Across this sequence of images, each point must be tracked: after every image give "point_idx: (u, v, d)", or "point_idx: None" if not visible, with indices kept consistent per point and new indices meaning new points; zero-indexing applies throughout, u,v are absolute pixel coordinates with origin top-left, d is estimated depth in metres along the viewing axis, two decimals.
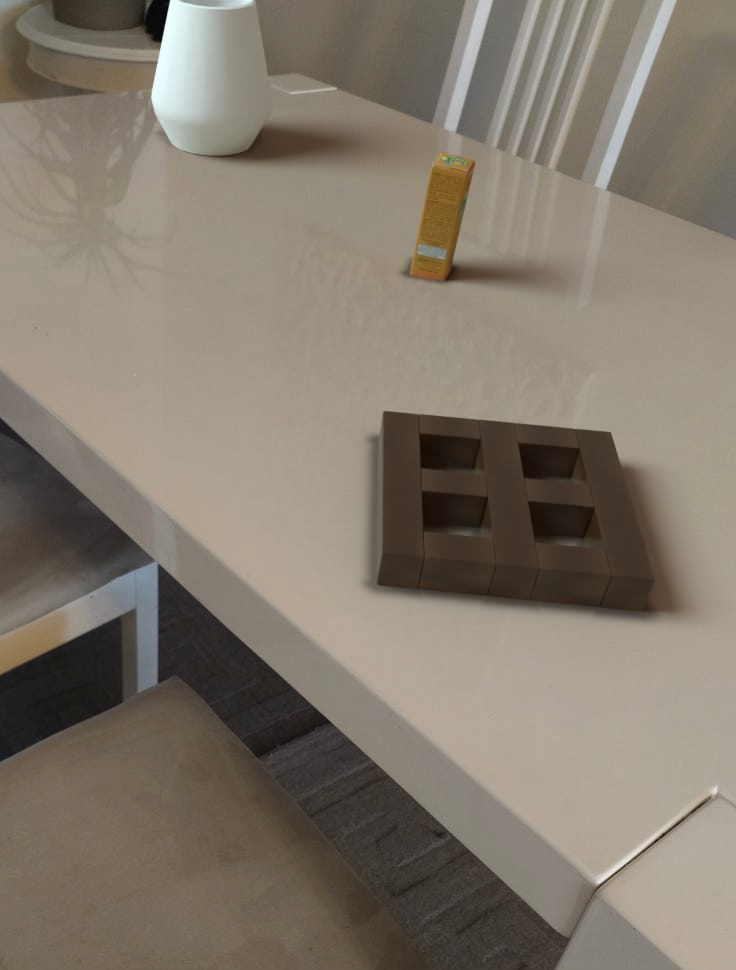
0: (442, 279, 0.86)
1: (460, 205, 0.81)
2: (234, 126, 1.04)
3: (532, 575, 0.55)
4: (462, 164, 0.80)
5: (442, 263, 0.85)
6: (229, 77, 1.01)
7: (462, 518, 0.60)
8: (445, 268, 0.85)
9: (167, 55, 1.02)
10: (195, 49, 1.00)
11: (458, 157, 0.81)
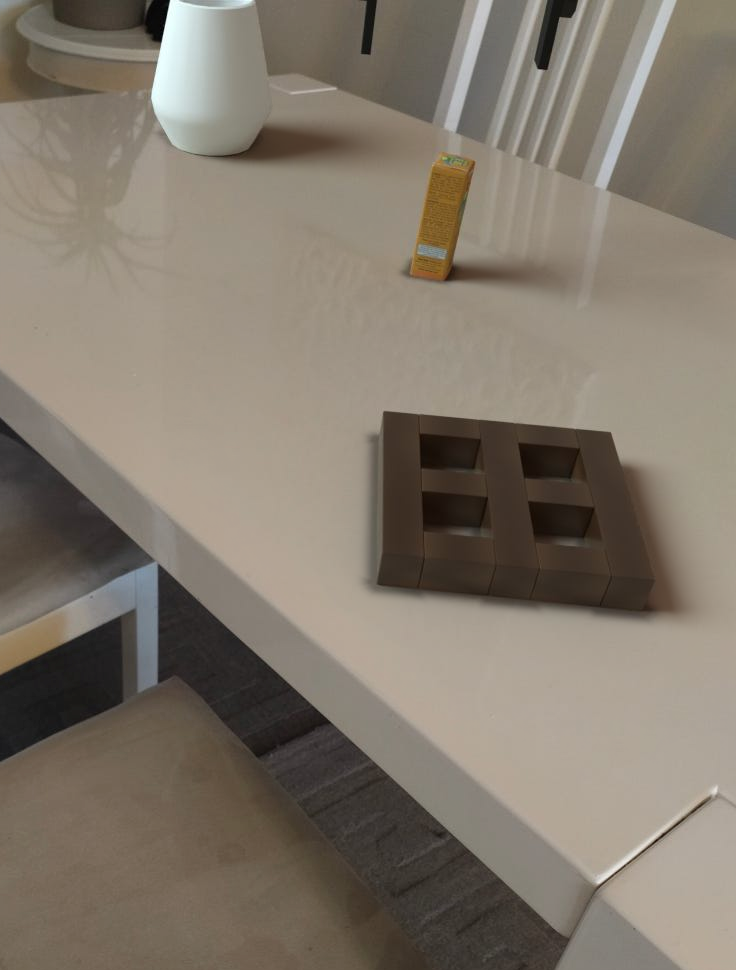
0: (442, 279, 0.86)
1: (460, 205, 0.81)
2: (234, 126, 1.04)
3: (532, 575, 0.55)
4: (462, 164, 0.80)
5: (442, 263, 0.85)
6: (229, 77, 1.01)
7: (462, 518, 0.60)
8: (445, 268, 0.85)
9: (167, 55, 1.02)
10: (195, 49, 1.00)
11: (458, 157, 0.81)
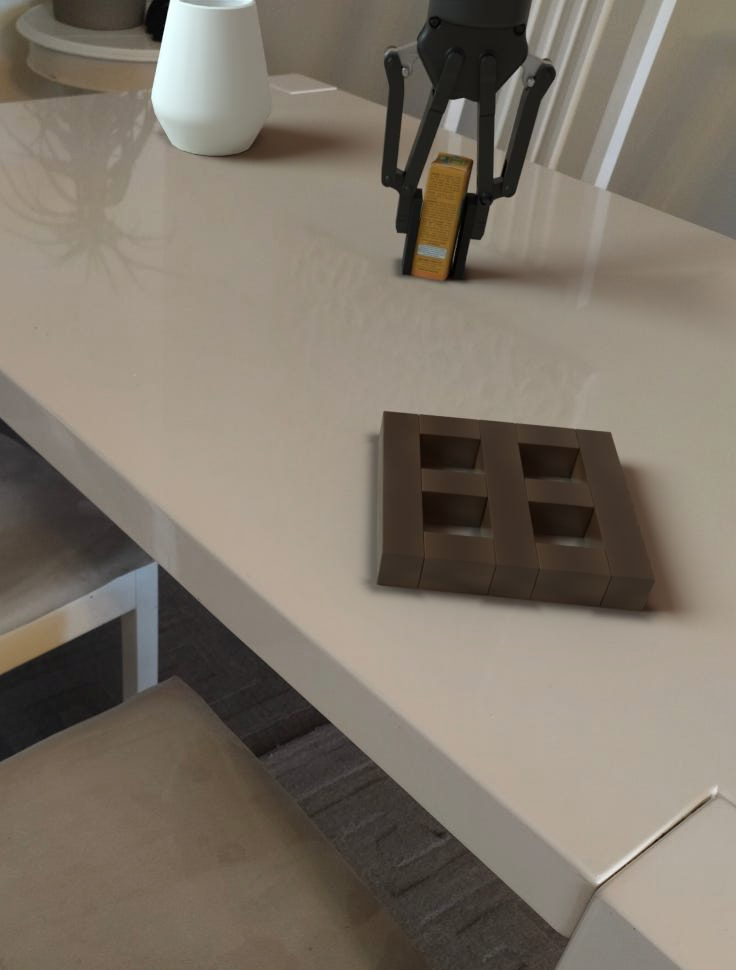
0: (443, 278, 0.86)
1: (459, 204, 0.81)
2: (234, 126, 1.04)
3: (532, 575, 0.55)
4: (460, 163, 0.80)
5: (443, 262, 0.85)
6: (229, 77, 1.01)
7: (462, 518, 0.60)
8: (445, 267, 0.85)
9: (167, 55, 1.02)
10: (195, 49, 1.00)
11: (456, 156, 0.81)
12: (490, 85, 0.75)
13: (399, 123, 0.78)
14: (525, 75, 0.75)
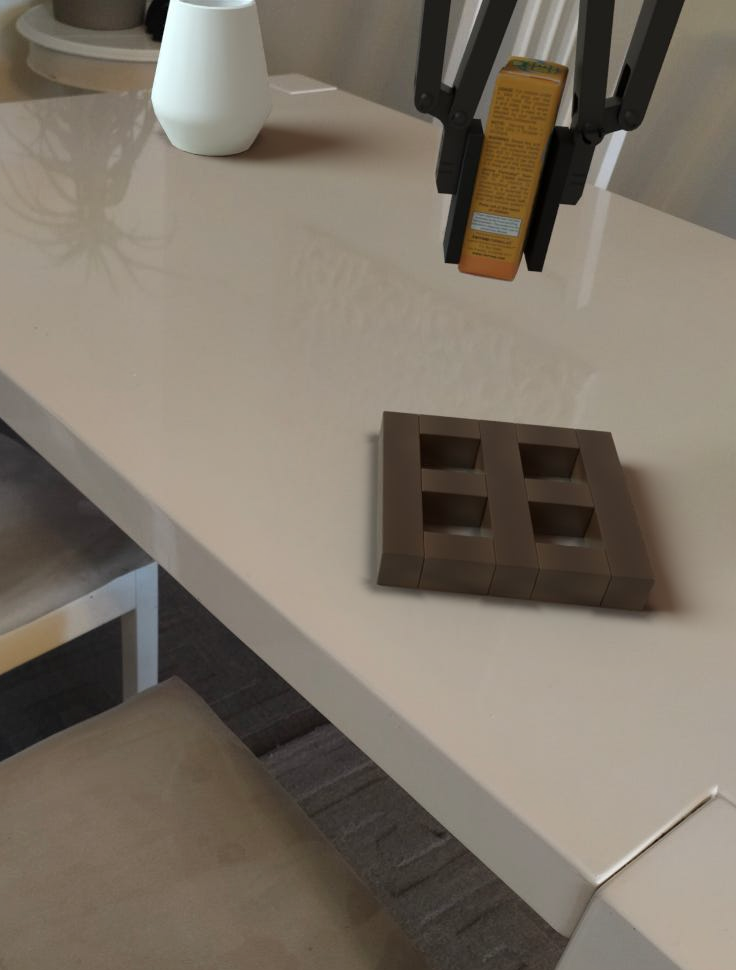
0: (512, 269, 0.52)
1: (545, 143, 0.48)
2: (234, 126, 1.04)
3: (532, 575, 0.55)
4: (549, 71, 0.47)
5: (514, 242, 0.51)
6: (229, 77, 1.01)
7: (462, 518, 0.60)
8: (518, 251, 0.52)
9: (167, 55, 1.02)
10: (195, 49, 1.00)
11: (540, 61, 0.48)
12: None
13: None
14: None
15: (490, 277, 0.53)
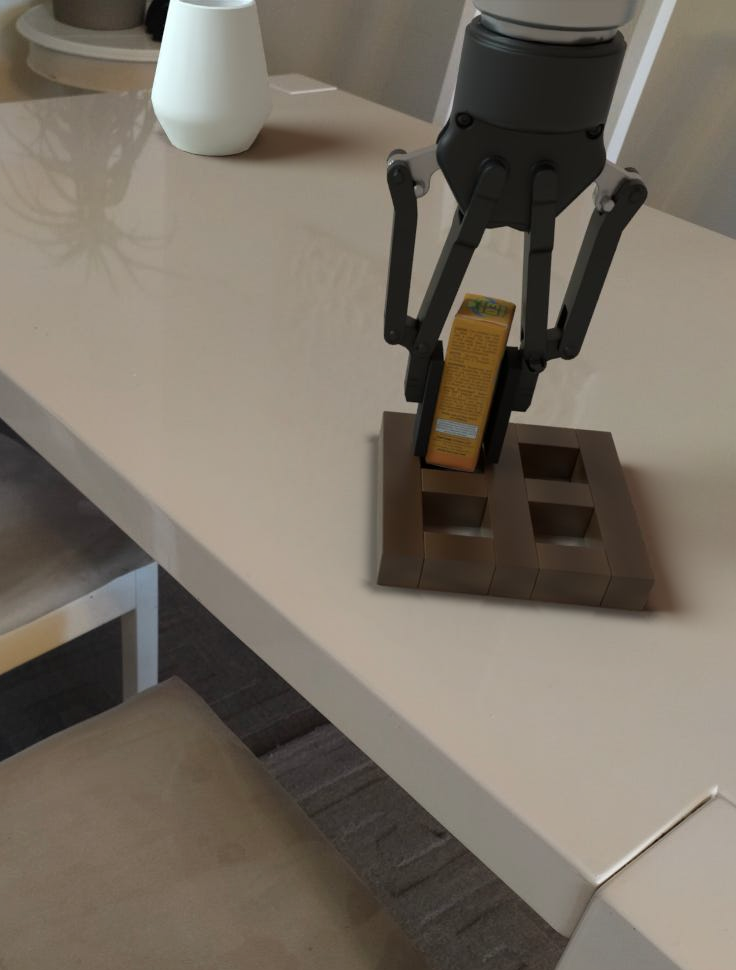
0: (472, 463, 0.60)
1: (496, 369, 0.56)
2: (234, 125, 1.04)
3: (532, 575, 0.55)
4: (498, 313, 0.55)
5: (472, 443, 0.59)
6: (229, 77, 1.01)
7: (462, 518, 0.60)
8: (476, 449, 0.60)
9: (167, 55, 1.02)
10: (195, 49, 1.00)
11: (491, 300, 0.56)
12: (547, 210, 0.50)
13: (410, 260, 0.53)
14: (599, 194, 0.50)
15: (453, 468, 0.61)
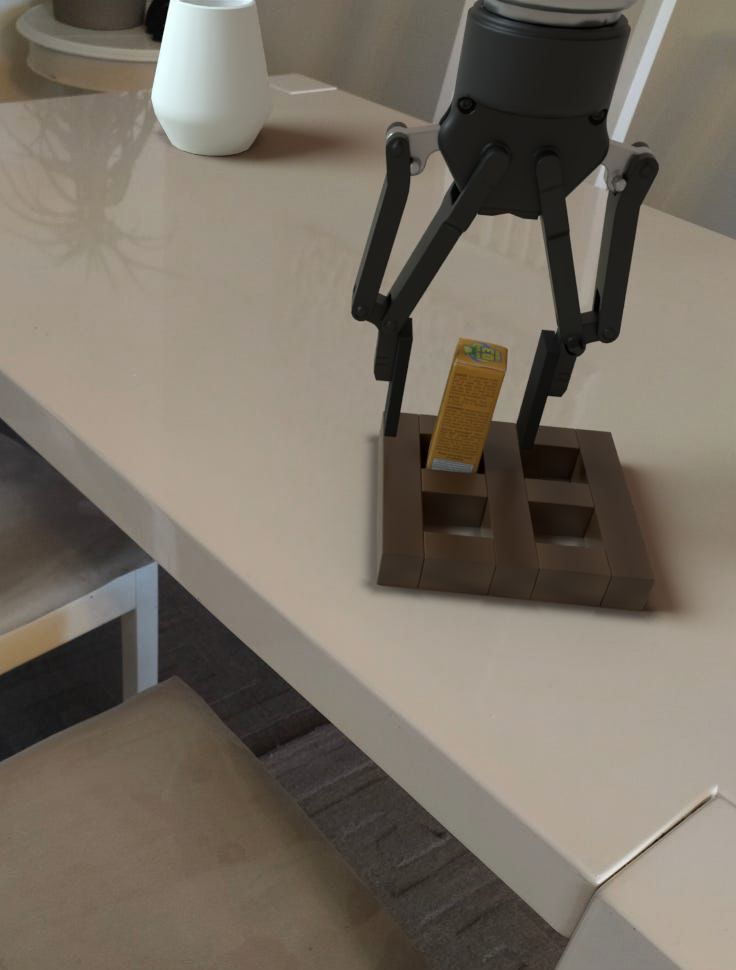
0: None
1: None
2: (234, 126, 1.04)
3: (532, 575, 0.55)
4: (494, 358, 0.57)
5: None
6: (229, 77, 1.01)
7: (462, 518, 0.60)
8: None
9: (167, 55, 1.02)
10: (195, 49, 1.00)
11: (485, 345, 0.58)
12: (550, 197, 0.49)
13: (392, 238, 0.52)
14: (610, 175, 0.49)
15: None
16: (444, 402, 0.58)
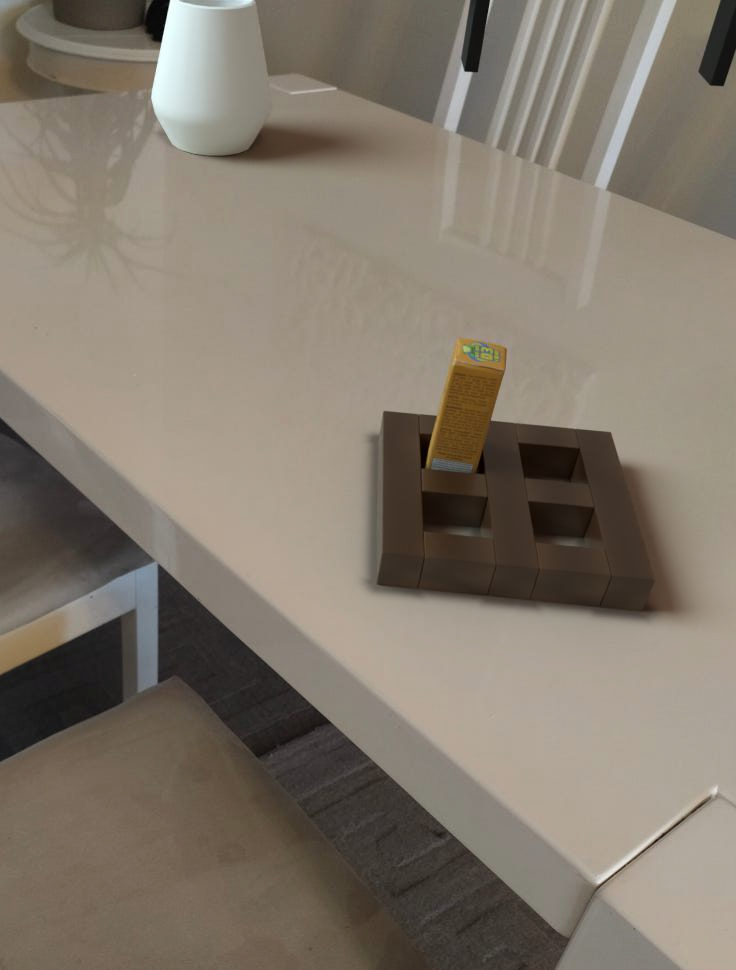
0: None
1: (492, 411, 0.58)
2: (234, 125, 1.04)
3: (532, 575, 0.55)
4: (493, 358, 0.57)
5: None
6: (229, 77, 1.01)
7: (462, 518, 0.60)
8: None
9: (167, 55, 1.02)
10: (195, 49, 1.00)
11: (483, 344, 0.58)
12: None
13: None
14: None
15: None
16: (443, 402, 0.58)
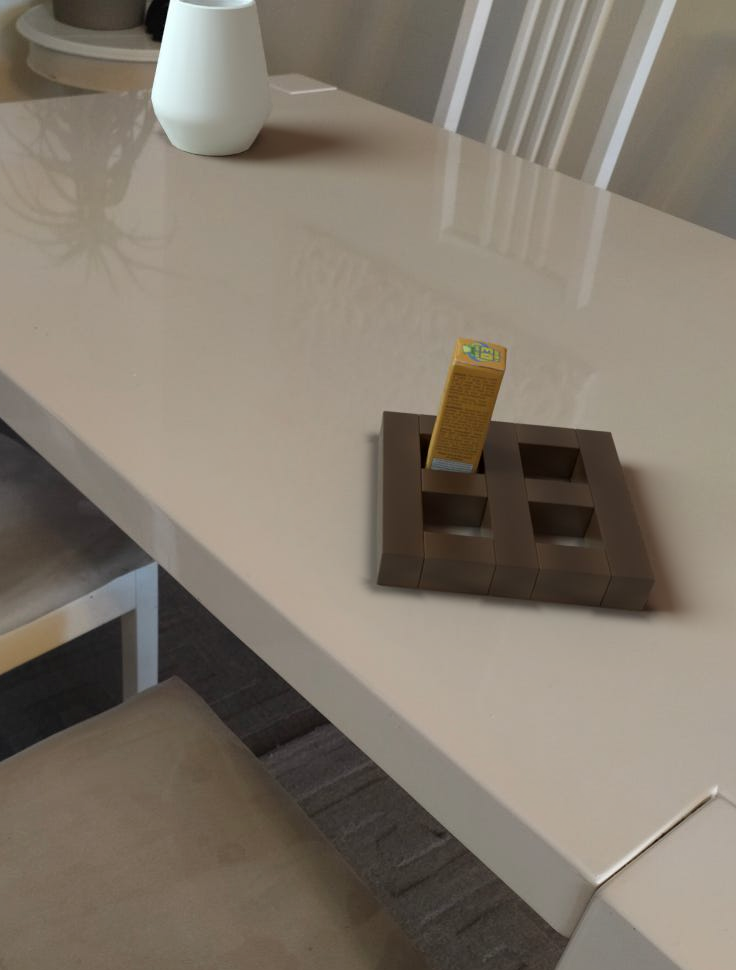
0: None
1: (492, 411, 0.58)
2: (234, 125, 1.04)
3: (532, 575, 0.55)
4: (493, 358, 0.57)
5: None
6: (229, 77, 1.01)
7: (462, 518, 0.60)
8: None
9: (167, 55, 1.02)
10: (195, 49, 1.00)
11: (483, 344, 0.58)
12: None
13: None
14: None
15: None
16: (443, 402, 0.58)
